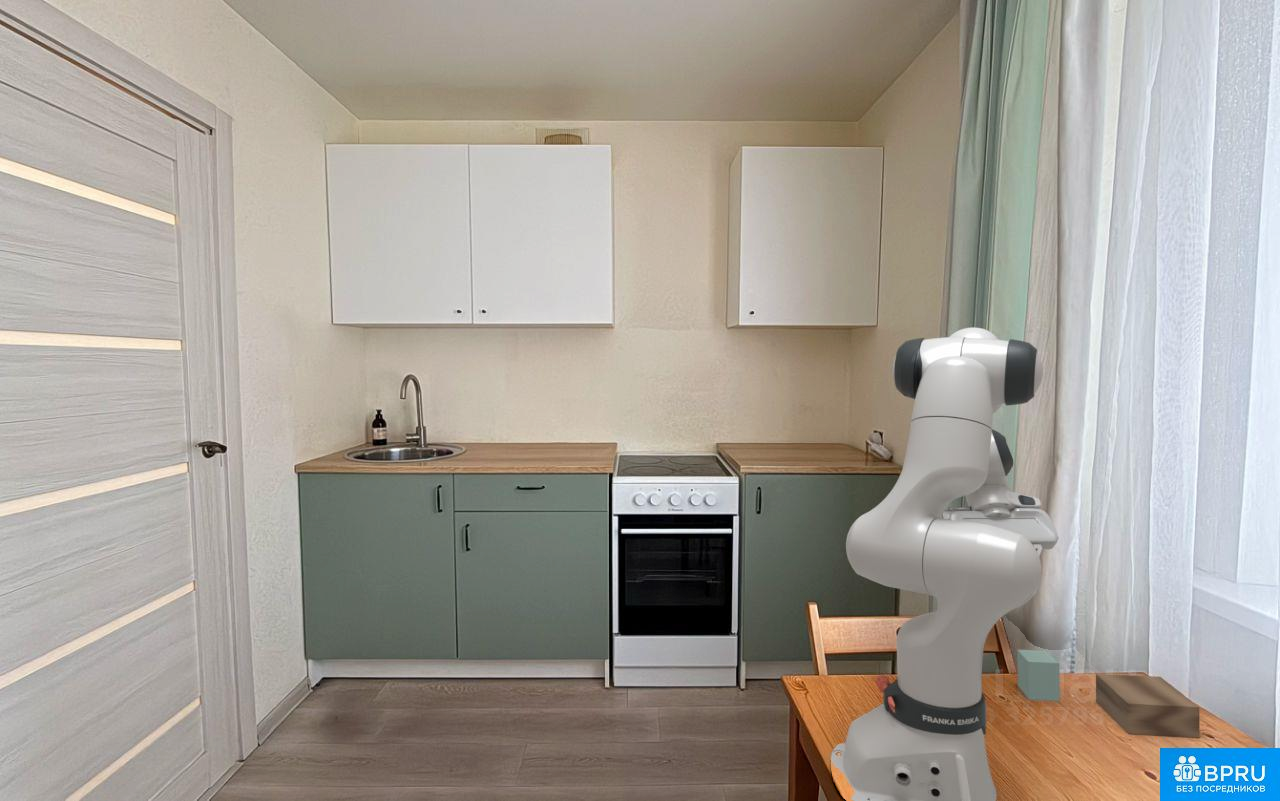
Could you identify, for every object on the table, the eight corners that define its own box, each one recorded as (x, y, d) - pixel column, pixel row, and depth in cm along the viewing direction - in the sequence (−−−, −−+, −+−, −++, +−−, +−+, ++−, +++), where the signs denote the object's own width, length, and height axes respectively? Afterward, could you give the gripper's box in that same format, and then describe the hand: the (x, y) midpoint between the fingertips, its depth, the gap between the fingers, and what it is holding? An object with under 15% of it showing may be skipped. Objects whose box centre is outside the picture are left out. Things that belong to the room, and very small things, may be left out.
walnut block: (1128, 733, 102) (1128, 703, 102) (1096, 701, 112) (1095, 673, 112) (1199, 737, 101) (1199, 707, 100) (1160, 704, 110) (1160, 676, 110)
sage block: (1029, 700, 114) (1028, 661, 114) (1017, 686, 119) (1017, 649, 118) (1059, 701, 113) (1059, 663, 113) (1047, 687, 118) (1046, 650, 117)
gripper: (942, 499, 136) (957, 558, 127) (1048, 498, 132) (1071, 559, 123) (937, 515, 141) (951, 573, 131) (1039, 514, 137) (1060, 574, 128)
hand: (1010, 566), depth 127 cm, fingers open, 8 cm apart
